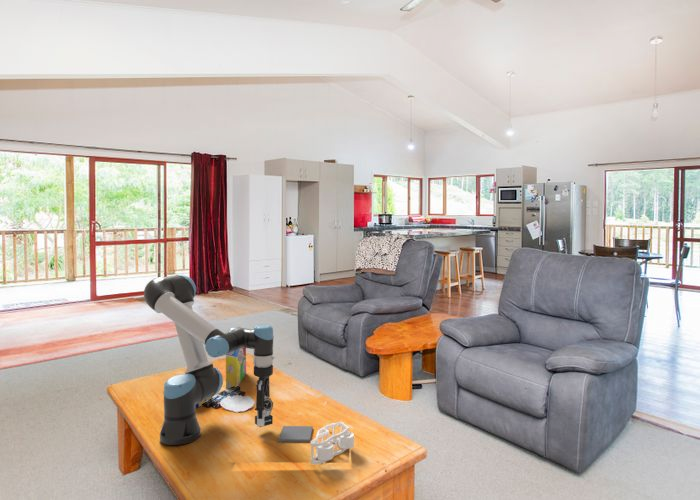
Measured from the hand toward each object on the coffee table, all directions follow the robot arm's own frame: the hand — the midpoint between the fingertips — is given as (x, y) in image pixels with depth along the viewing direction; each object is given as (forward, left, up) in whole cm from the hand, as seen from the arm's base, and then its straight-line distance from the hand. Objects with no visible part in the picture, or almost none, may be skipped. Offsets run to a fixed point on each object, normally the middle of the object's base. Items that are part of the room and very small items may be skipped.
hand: (262, 421), depth 183 cm
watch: (0, 0, -1) cm, 1 cm away
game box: (-26, +58, -5) cm, 64 cm away
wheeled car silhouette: (+28, -16, -5) cm, 33 cm away
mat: (+13, -2, -4) cm, 14 cm away
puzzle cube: (-38, +32, -5) cm, 49 cm away
